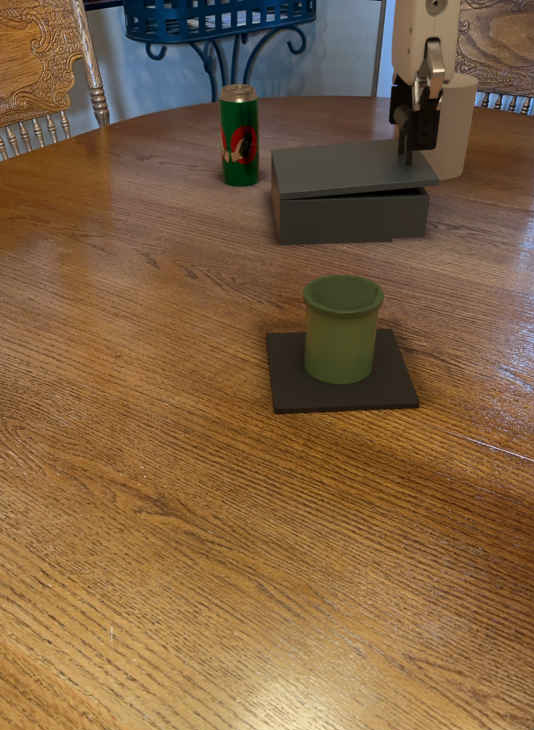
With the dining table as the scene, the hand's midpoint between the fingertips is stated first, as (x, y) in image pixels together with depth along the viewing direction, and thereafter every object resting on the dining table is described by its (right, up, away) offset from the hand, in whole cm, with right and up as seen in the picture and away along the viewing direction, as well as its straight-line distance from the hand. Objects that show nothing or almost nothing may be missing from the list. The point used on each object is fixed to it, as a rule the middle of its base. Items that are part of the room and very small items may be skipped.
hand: (410, 135), depth 79 cm
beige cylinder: (+7, +4, +19) cm, 21 cm away
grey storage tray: (-7, -8, +6) cm, 12 cm away
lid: (-7, -3, +2) cm, 8 cm away
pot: (-10, -29, -18) cm, 35 cm away
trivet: (-10, -29, -18) cm, 36 cm away
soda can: (-20, +1, +16) cm, 26 cm away
